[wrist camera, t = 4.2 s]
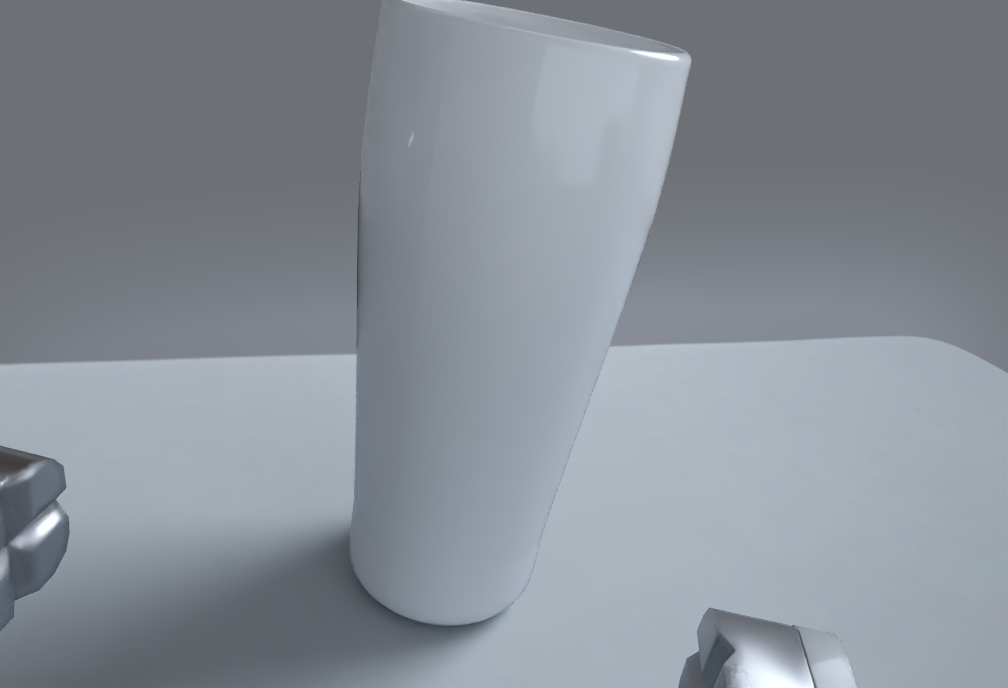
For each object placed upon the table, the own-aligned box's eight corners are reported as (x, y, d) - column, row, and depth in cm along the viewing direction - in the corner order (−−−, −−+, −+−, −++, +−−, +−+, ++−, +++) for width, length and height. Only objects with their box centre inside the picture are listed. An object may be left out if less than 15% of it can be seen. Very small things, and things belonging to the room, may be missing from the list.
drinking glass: (330, 671, 19) (405, 11, 13) (313, 496, 25) (360, -20, 18) (586, 647, 21) (761, 72, 15) (516, 491, 27) (621, 27, 21)
